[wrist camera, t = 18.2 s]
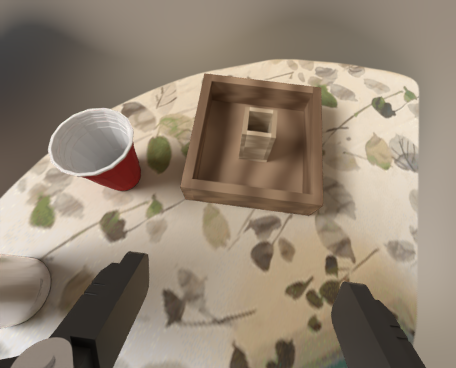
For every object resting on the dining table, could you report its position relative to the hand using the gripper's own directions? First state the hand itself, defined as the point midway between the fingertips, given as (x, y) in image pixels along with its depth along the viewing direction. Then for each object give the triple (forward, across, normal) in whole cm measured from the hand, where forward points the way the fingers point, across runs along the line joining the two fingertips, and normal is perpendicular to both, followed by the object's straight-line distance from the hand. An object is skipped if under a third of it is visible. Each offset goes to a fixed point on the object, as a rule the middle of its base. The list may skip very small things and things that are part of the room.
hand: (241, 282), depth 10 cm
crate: (+36, -2, +4) cm, 37 cm away
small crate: (+36, -2, +4) cm, 36 cm away
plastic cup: (+31, +20, +10) cm, 38 cm away
